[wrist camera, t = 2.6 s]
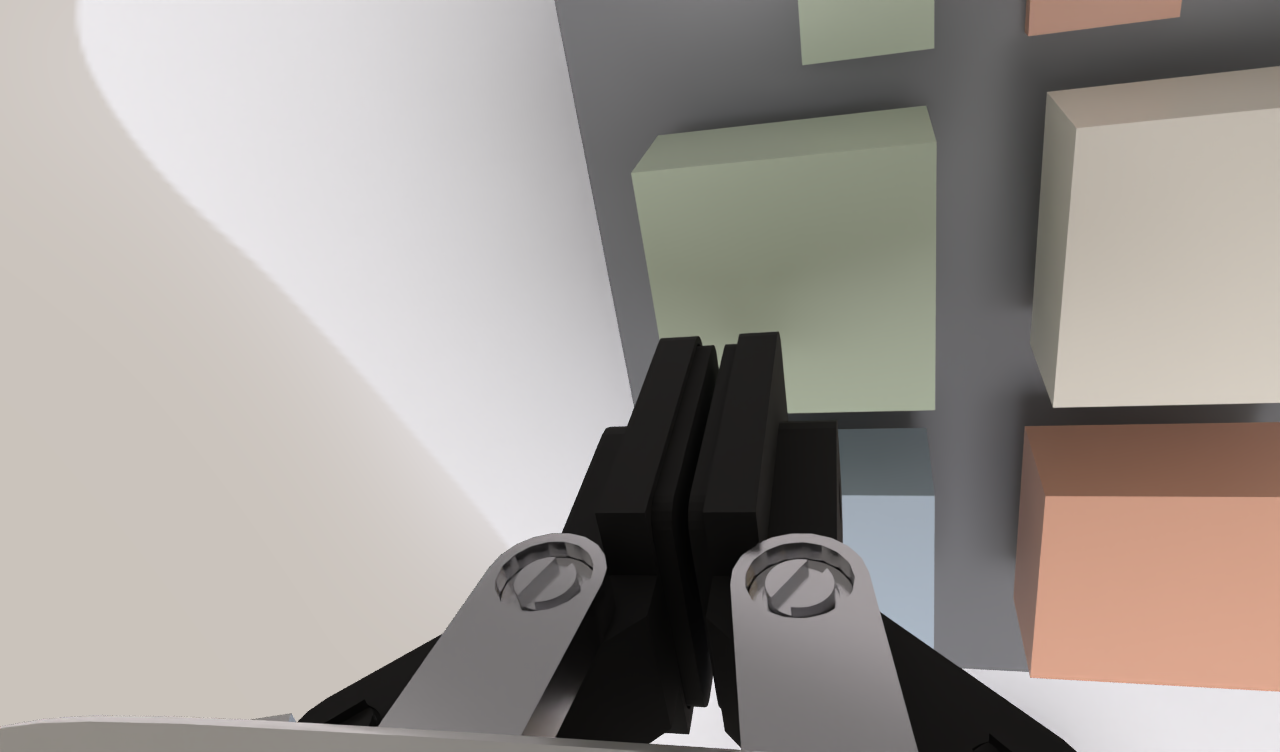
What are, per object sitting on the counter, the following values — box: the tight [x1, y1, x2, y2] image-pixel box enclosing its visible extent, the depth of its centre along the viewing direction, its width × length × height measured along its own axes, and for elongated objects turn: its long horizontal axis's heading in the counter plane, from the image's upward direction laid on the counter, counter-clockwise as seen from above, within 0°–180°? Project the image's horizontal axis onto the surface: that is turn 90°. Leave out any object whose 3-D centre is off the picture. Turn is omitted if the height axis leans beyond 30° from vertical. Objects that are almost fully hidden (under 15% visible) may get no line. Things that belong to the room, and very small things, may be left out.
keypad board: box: [555, 0, 1280, 672], centre depth 20 cm, size 16×20×2 cm
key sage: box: [631, 106, 937, 413], centre depth 16 cm, size 5×5×2 cm
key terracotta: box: [1013, 422, 1280, 692], centre depth 18 cm, size 5×5×2 cm
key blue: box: [838, 428, 935, 649], centre depth 20 cm, size 5×5×2 cm
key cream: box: [1030, 66, 1280, 408], centre depth 14 cm, size 5×5×2 cm
